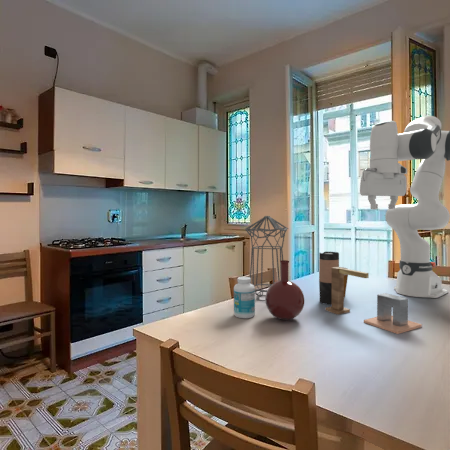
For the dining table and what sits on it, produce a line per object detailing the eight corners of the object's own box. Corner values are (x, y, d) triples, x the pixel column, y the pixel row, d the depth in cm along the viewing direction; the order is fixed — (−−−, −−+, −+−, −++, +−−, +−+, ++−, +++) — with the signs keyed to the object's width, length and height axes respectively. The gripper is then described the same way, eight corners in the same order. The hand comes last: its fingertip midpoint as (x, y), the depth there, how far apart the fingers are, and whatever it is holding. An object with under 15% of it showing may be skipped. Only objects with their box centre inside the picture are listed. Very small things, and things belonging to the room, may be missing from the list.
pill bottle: (232, 312, 122) (232, 276, 121) (253, 312, 123) (252, 275, 122) (235, 319, 115) (234, 280, 114) (256, 318, 115) (256, 279, 115)
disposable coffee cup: (348, 294, 146) (348, 267, 146) (349, 300, 137) (349, 270, 137) (326, 292, 149) (326, 266, 149) (325, 298, 140) (325, 269, 140)
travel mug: (340, 305, 130) (340, 254, 129) (319, 304, 131) (319, 253, 130) (337, 300, 137) (337, 251, 136) (318, 299, 139) (318, 251, 138)
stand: (337, 307, 127) (337, 265, 126) (372, 319, 113) (372, 272, 112) (325, 310, 124) (325, 267, 123) (360, 322, 110) (360, 274, 109)
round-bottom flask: (303, 313, 120) (303, 258, 119) (305, 326, 107) (305, 264, 106) (266, 312, 122) (266, 258, 121) (264, 324, 109) (264, 263, 108)
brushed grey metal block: (407, 324, 105) (408, 298, 105) (399, 326, 103) (400, 300, 103) (384, 317, 112) (385, 293, 112) (377, 319, 110) (377, 294, 110)
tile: (387, 316, 116) (387, 314, 116) (421, 326, 105) (421, 324, 105) (363, 322, 110) (363, 319, 110) (397, 334, 100) (397, 331, 100)
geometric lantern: (244, 301, 137) (243, 216, 136) (255, 293, 151) (254, 216, 151) (282, 304, 131) (281, 215, 130) (290, 296, 145) (289, 215, 145)
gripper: (371, 166, 108) (370, 209, 108) (410, 169, 117) (409, 208, 118) (355, 168, 113) (354, 209, 114) (393, 171, 123) (393, 209, 123)
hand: (383, 209), depth 116 cm, fingers open, 8 cm apart
